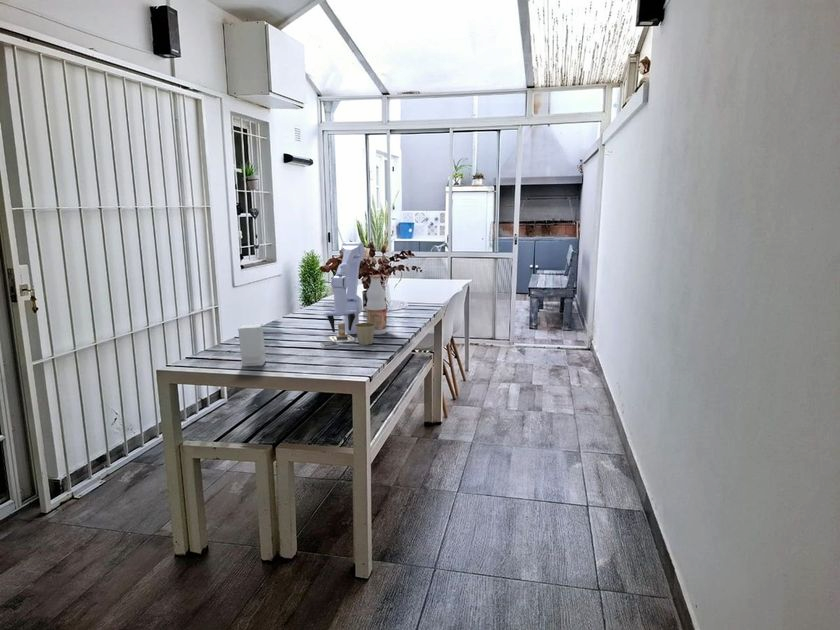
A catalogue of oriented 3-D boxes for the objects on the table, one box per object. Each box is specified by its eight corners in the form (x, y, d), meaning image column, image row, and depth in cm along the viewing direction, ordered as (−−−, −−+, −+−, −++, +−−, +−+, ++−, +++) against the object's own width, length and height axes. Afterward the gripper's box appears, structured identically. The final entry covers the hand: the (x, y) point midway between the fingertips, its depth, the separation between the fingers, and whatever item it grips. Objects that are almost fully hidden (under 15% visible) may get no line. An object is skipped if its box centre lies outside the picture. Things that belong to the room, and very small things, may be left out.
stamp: (336, 337, 264) (335, 322, 263) (347, 336, 265) (346, 322, 263) (336, 339, 259) (336, 324, 258) (347, 339, 260) (347, 324, 259)
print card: (328, 337, 265) (328, 336, 265) (349, 335, 269) (349, 334, 269) (334, 343, 255) (334, 341, 255) (355, 341, 259) (355, 339, 259)
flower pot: (356, 346, 249) (356, 327, 247) (353, 341, 258) (352, 323, 256) (377, 345, 251) (377, 326, 250) (373, 340, 260) (373, 321, 259)
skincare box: (266, 361, 227) (263, 323, 224) (262, 366, 221) (259, 327, 218) (245, 362, 227) (242, 324, 224) (240, 366, 220) (237, 327, 217)
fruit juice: (363, 332, 276) (362, 275, 271) (380, 329, 281) (379, 273, 276) (373, 335, 269) (371, 277, 263) (390, 333, 274) (389, 275, 268)
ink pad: (320, 345, 252) (320, 342, 252) (335, 343, 255) (335, 340, 255) (323, 348, 246) (323, 345, 246) (338, 346, 249) (338, 344, 249)
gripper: (326, 304, 252) (328, 334, 255) (358, 302, 258) (359, 331, 260) (323, 302, 259) (324, 331, 262) (354, 299, 264) (355, 328, 267)
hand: (341, 330), depth 261 cm, fingers open, 7 cm apart
